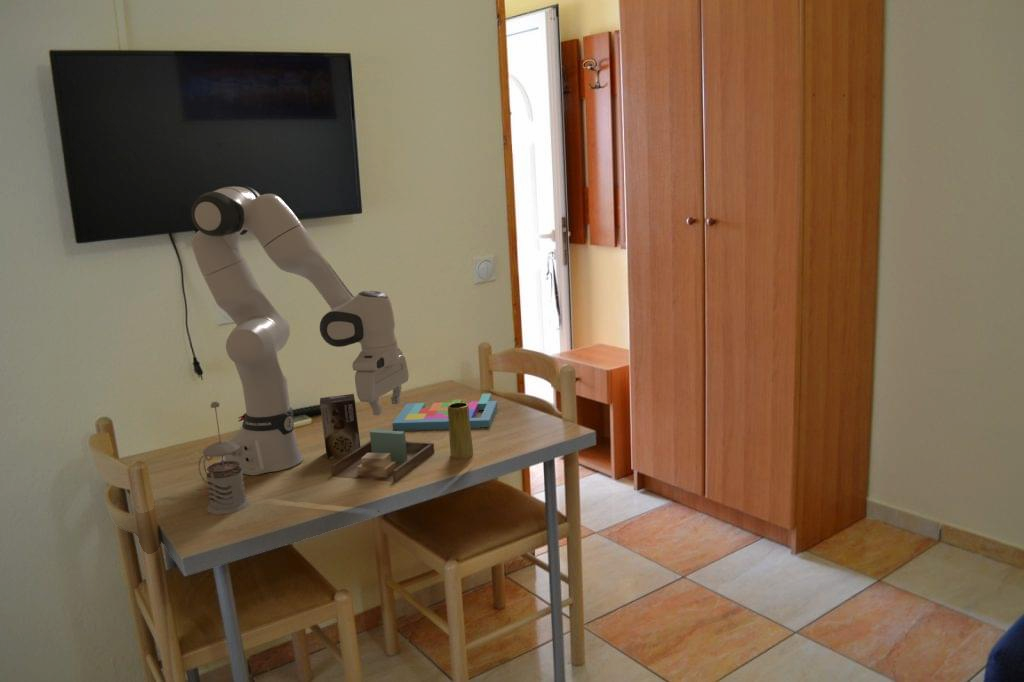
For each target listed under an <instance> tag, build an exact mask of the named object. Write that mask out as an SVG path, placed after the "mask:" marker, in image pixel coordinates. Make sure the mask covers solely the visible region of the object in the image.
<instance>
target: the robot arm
mask: <svg viewBox="0 0 1024 682" xmlns="http://www.w3.org/2000/svg"><path fill="white" fill-rule="evenodd" d="M190 212H191V213H190V214H191V221H192V222H193V225H194V226H195V228H196V229H197V230H198V231H197V232H196V233H195V234H194V235H193V236H192V239H191V247H192V251H193V254H194V257H195V260H196V263H197V266H198V268H199V270H200V273H201V274H202V277H203V279H204V282H205V283H206V284H207V286H208V289H209V291H210V293H211V295H212V297H213V298H214V301H215V303H216V304H217V306H218V307H219V308H220V309H221V310H223V311H224V312H225V313H226V314H227V315H228V316H229V317H230V318H231V320H232V321H233V322H234V324H236V326H235V327H234V328H233V329H232V331H231V332H230V333H229V335H228V337H227V339H226V340H225V341H226V342H225V350H226V354H227V356H228V358H229V359H230V360H231V361H232V362H233V363H234V365H235V367H236V371H237V373H238V376H239V379H240V382H241V384H242V386H241V387H242V390H243V391H242V392H243V399H244V405H245V411H246V412H245V413H244V414H243V415H240V416H238V418H237V419H239V420H238V422H241V421H242V424H241V425H242V427H241V428H240V429H239V430H237V431H236V432H235V433H234V434H233V435H232V436H231V437H230V438H229V439H228V440H226V442H233V443H235V444H237V445H239V446H240V447H239V450H238V451H237V452H235V453H232V454H230V455H226V456H223V462H224V461H237V462H239V463H240V465H239V467H240V468H241V469H242V473H243V475H249V476H258V475H262V474H265V473H271V472H272V473H273V472H277V471H279V472H280V471H282V470H287V469H289V468H292V467H295V466H297V465H299V464H301V462H302V461H303V459H304V457H303V455H302V453H301V449H300V448H299V444H298V441H297V437H296V433H295V429H294V425H295V424H294V423H295V419H294V413H293V408H292V407H291V401H290V395H289V387H288V380H287V378H286V375H284V373H283V371H282V369H281V365H280V363H279V359H278V352H279V351H281V350H282V349H283V348H284V347H285V346H286V344H287V342H288V339H289V338H290V331H291V329H290V324H289V323H288V321H287V319H286V318H285V317H284V316H283V315H281V314H280V313H279V312H278V311H277V310H276V308H275V307H274V305H273V304H272V303H271V301H270V300H269V299H268V297H267V296H266V294H265V293H264V292H263V290H262V289H261V288H260V286H259V284H258V282H257V280H256V278H255V276H254V274H253V272H252V270H251V268H250V265H249V264H248V262H247V259H246V258H245V255H244V254H243V252H242V250H241V247H240V245H239V237H240V236H241V235H245V234H247V233H248V232H250V233H251V234H252V235H253V236H254V237H255V238H256V239H257V241H258V243H259V244H260V246H261V247H262V249H263V250H264V252H265V253H266V255H267V256H268V258H269V259H270V260H271V262H273V263H274V264H275V265H276V267H277V268H279V269H280V270H281V271H284V272H286V273H290V274H295V275H297V276H299V277H302V278H304V279H307V281H309V282H310V283H311V284H312V285H313V286H314V287H315V289H316V291H318V293H319V294H320V295H321V297H322V298H323V300H325V302H326V303H327V305H328V306H329V308H330V310H329V311H328V312H326V313H325V315H323V316H322V318H321V319H320V323H319V332H320V336H321V338H322V339H323V340H324V341H325V343H327V344H328V345H330V346H332V347H337V348H341V347H342V348H343V347H344V348H345V347H347V346H350V345H354V344H357V343H359V344H360V347H361V351H360V352H359V354H358V355H357V357H356V358H355V359H354V361H353V362H352V370H353V371H354V372H355V371H356V372H355V374H354V382H355V390H356V395H357V399H358V400H359V401H360V402H361V403H368V404H369V406H370V408H371V410H372V415H373V416H381V415H382V414H383V409H382V406H380V405H379V402H380V399H379V398H381V397H383V396H384V395H386V394H388V393H390V392H391V391H392V397H390V399H391V400H390V401H391V404H392V405H399V403H401V393H402V385H404V384H405V383H407V382H408V381H409V376H410V375H409V368H408V364H407V360H406V357H405V356H404V355H403V351H402V350H401V349H400V348H399V347H398V341H397V338H396V336H395V326H396V325H395V323H396V322H395V316H394V312H393V310H394V309H393V307H392V303H391V300H390V297H389V296H388V295H387V294H386V293H384V292H382V291H379V290H378V291H376V290H363V291H360V292H358V293H357V295H353V293H352V292H351V291H350V290H349V288H348V287H347V286H346V285H345V284H344V281H342V279H341V278H340V277H339V275H338V273H336V271H335V270H334V268H333V267H332V266H331V265H330V264H329V262H328V261H327V260H326V258H325V257H324V256H323V254H322V253H321V252H320V250H319V249H318V247H317V246H316V244H315V243H314V241H313V239H312V238H311V236H310V234H309V233H308V231H307V230H306V228H305V227H304V225H303V223H302V222H301V221H300V219H299V218H298V216H297V215H296V214H295V212H294V211H293V210H292V209H291V208H290V207H289V205H288V204H287V203H286V202H285V201H284V200H283V199H282V198H281V197H280V196H278V195H277V194H274V193H264V194H260V193H259V192H258V191H257V190H255V189H254V188H252V187H249V186H247V185H246V186H245V185H233V186H225V187H221V188H218V189H215V190H213V191H208V192H206V193H203V194H202V195H200V196H198V197H197V199H196V200H195V201H194V202H193V205H192V207H191V211H190ZM218 462H222V458H220V459H219V460H218V461H217V462H216V463H218ZM231 472H233V473H238V472H237V471H233V470H232V471H231Z"/></svg>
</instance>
